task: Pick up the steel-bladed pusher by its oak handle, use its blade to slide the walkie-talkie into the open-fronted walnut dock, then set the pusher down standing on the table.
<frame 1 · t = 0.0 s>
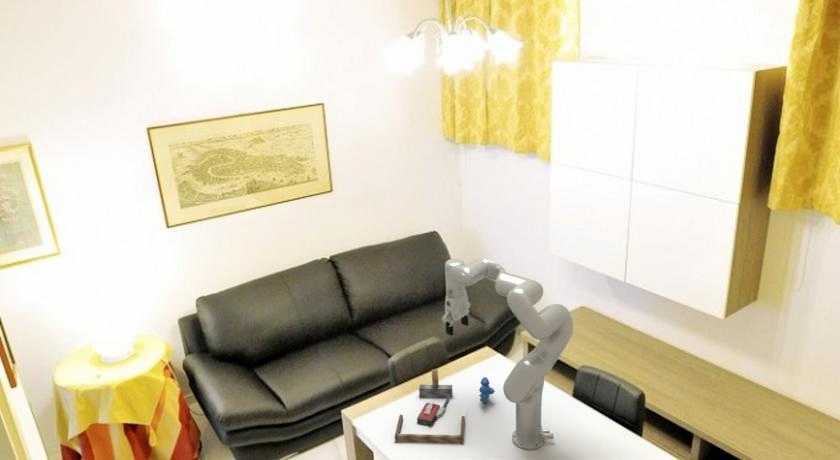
hand: (457, 329, 244), 37 cm above the table, tool pointing down, fingers open, 9 cm apart
walkie-talkie: (433, 413, 255), on the table
dock: (430, 431, 243), on the table
pusher: (436, 396, 265), on the table
grapes: (487, 403, 259), on the table
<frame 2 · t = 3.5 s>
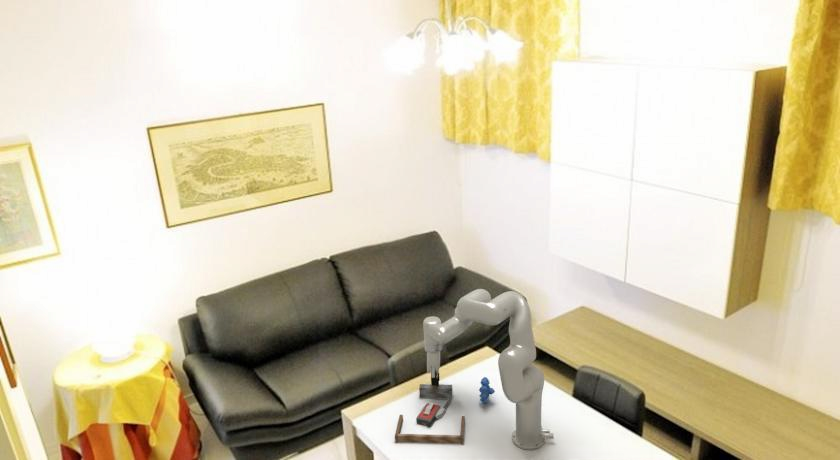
hand: (435, 382, 263), 7 cm above the table, tool pointing down, fingers closed on pusher, 2 cm apart
pusher: (436, 396, 265), on the table, touching gripper
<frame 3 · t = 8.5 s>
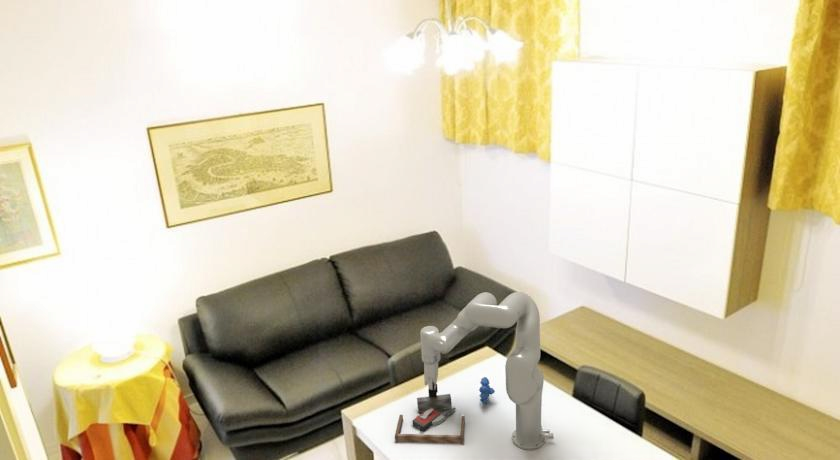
hand: (433, 394, 254), 8 cm above the table, tool pointing down, fingers closed on pusher, 2 cm apart
walkie-talkie: (433, 420, 251), on the table
pusher: (434, 408, 256), point 1 cm above the table, touching gripper
everything else where it was.
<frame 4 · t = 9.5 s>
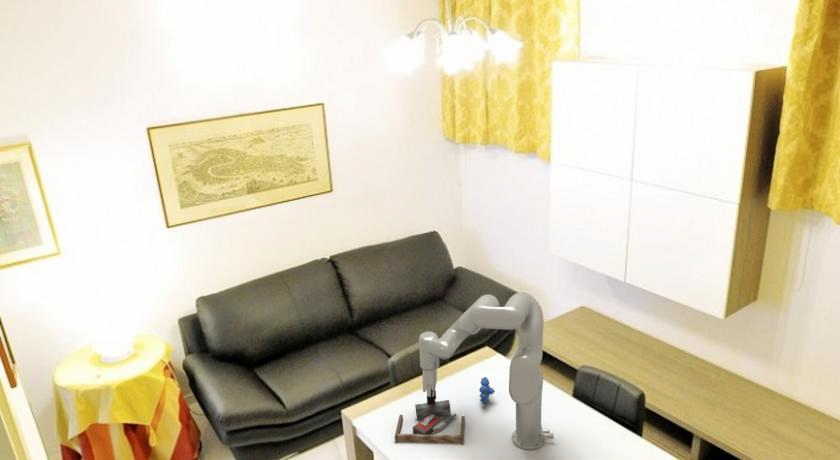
hand: (431, 401, 249), 8 cm above the table, tool pointing down, fingers closed on pusher, 2 cm apart
walkie-talkie: (434, 426, 246), on the table, touching dock, pusher
pusher: (433, 414, 252), point 1 cm above the table, touching gripper, walkie-talkie
everything else where it was.
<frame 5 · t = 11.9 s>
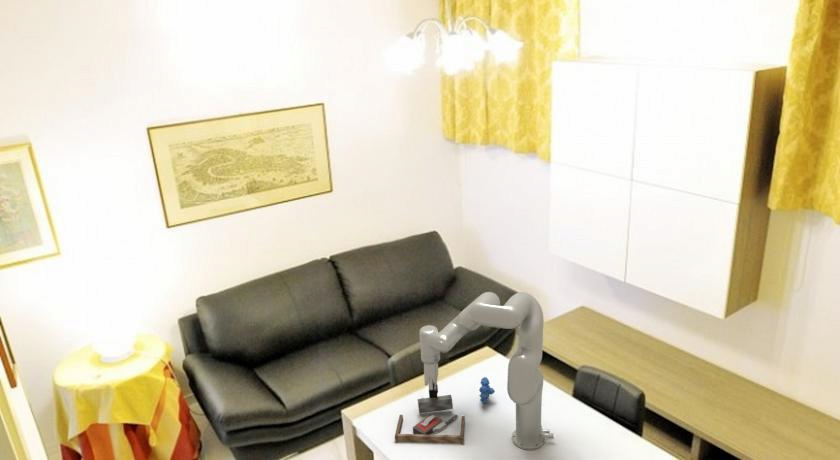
hand: (433, 395, 251), 9 cm above the table, tool pointing down, fingers closed on pusher, 2 cm apart
walkie-talkie: (434, 427, 246), on the table
pusher: (435, 409, 253), point 2 cm above the table, touching gripper
everything else where it was.
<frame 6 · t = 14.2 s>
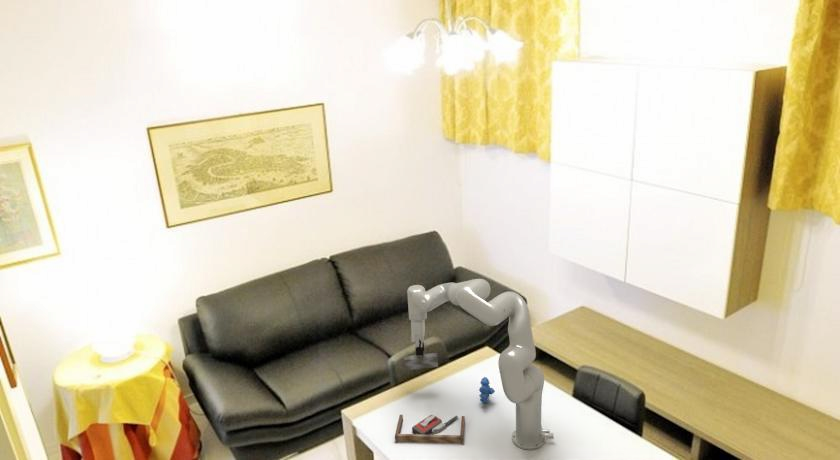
hand: (420, 352, 261), 20 cm above the table, tool pointing down, fingers closed on pusher, 2 cm apart
pusher: (421, 366, 263), point 13 cm above the table, touching gripper
everything else where it was.
when the fingers open (8 cm above the table, at t = 16.5 s): pusher drops 1 cm, on the table.
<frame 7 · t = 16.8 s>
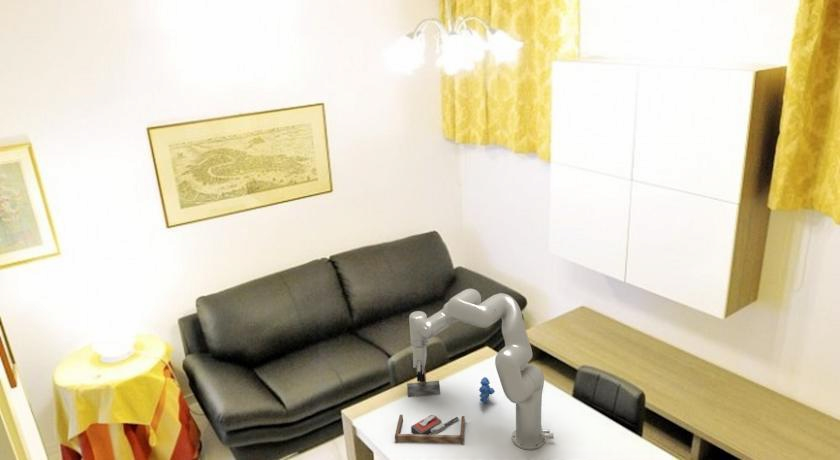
hand: (421, 376, 265), 9 cm above the table, tool pointing down, fingers open, 6 cm apart
pusher: (423, 393, 268), on the table
everything else where it was.
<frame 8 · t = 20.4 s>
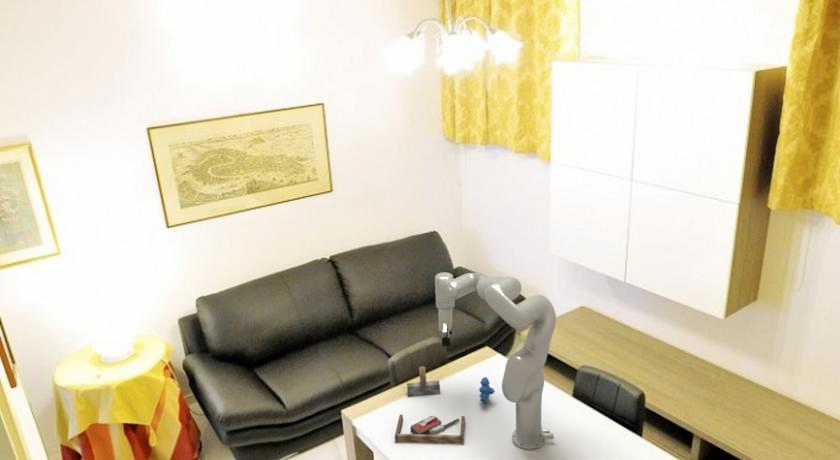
hand: (447, 339, 254), 28 cm above the table, tool pointing down, fingers open, 9 cm apart
at the end: walkie-talkie 2.6 cm off-centre on the dock, point -0.7 cm above the dock's base; pusher inside the target area (0.4 cm from its centre), on the table; pusher tilted 0° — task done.
